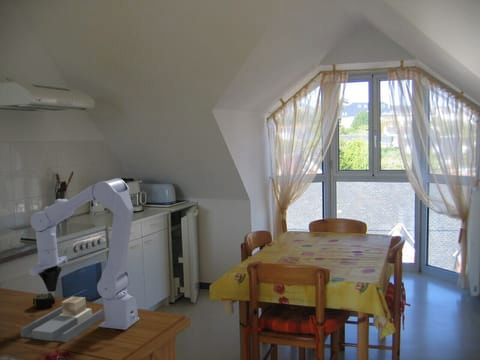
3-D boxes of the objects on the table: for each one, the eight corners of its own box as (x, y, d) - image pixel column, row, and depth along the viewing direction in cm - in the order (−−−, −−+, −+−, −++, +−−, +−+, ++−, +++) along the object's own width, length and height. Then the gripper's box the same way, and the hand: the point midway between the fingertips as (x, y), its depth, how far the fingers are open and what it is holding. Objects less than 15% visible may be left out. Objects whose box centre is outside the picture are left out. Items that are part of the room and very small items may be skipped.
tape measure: (56, 307, 162) (55, 296, 161) (34, 311, 159) (33, 300, 158) (53, 301, 168) (52, 290, 167) (32, 305, 165) (31, 294, 164)
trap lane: (104, 317, 150) (103, 309, 150) (65, 342, 133) (64, 334, 133) (62, 313, 155) (62, 305, 155) (20, 337, 138) (19, 328, 138)
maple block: (86, 309, 150) (85, 297, 150) (76, 315, 146) (74, 303, 145) (73, 308, 152) (72, 296, 152) (62, 314, 147) (61, 302, 147)
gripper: (53, 242, 156) (57, 282, 157) (19, 254, 142) (24, 298, 144) (71, 243, 153) (74, 284, 155) (38, 255, 140) (42, 299, 141)
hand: (51, 291), depth 149 cm, fingers closed
